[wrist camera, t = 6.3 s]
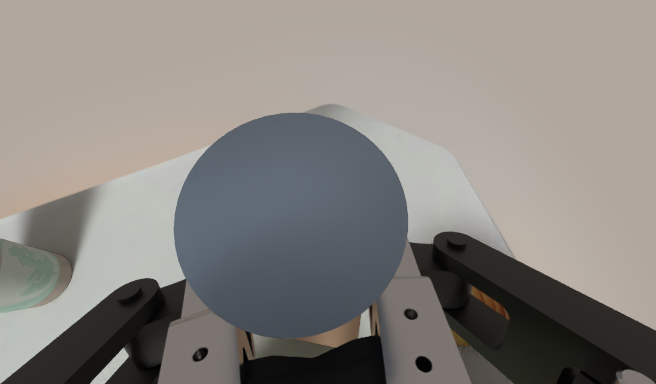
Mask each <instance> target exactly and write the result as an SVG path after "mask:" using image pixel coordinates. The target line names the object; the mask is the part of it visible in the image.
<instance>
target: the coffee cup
mask: <svg viewBox="0 0 656 384" xmlns="http://www.w3.org/2000/svg"><path fill="white" fill-rule="evenodd" d="M71 275H72V267H71V264H70V262H69V261H68V259H67V258H65V257H64V256H62V255H59V254H55V253H52V252H48V251H45V250H41V249H37V248H34V247H30V246H26V245H22V244H19V243H15V242H11V241H7V240H4V239H0V313H5V312H11V311H16V310H22V309H27V308H32V307H37V306H42V305H45V304H48V303H50V302H52V301H53V300H55V299H56V298H57V297H59V296H60V295H61V294H62V293H63V292H64V290H65V289H66V288H67V286H68V284H69V282H70V279H71Z"/></svg>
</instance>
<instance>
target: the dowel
mask: <svg viewBox="0 0 656 384" xmlns="http://www.w3.org/2000/svg"><path fill="white" fill-rule="evenodd" d="M407 233H408V212H407V204H406V199H405V195H404V191H403V188H402V185H401V183H400V180H399V178H398V176H397V174H396V172H395V170H394V168H393V166H392V165H391V163H390V162H389V160H388V159H387V158H386V156H385V155H384V154H383V153H382V151H381V150H380V149H379V148H378V147H377V146H376V145H375V144H374V143H373V142H372V141H370V140H369V139H368V138H367V137H366V136H364V135H363V134H361V133H360V132H358V131H357V130H355V129H354V128H352V127H350V126H348V125H346V124H344V123H342V122H339V121H337V120H334V119H331V118H328V117H324V116H320V115H314V114H307V113H284V114H276V115H270V116H265V117H262V118H259V119H255V120H252V121H250V122H247V123H245V124H243V125H240V126H239V127H237V128H235V129H233V130H232V131H230V132H228V133H227V134H225V135H224V136H223V137H221V138H220V139H218V140H217V141H216V142H215V143H214V144H213V145H212V146H210V147H209V148H208V149H207V150H206V151H205V153H204V154H203V155H202V156H201V157H200V158H199V159H198V161H197V162H196V164H195V165H194V167H193V168H192V170H191V171H190V172H189V174H188V176H187V178H186V180H185V182H184V184H183V187H182V190H181V192H180V195H179V198H178V202H177V207H176V211H175V220H174V238H175V247H176V252H177V256H178V261H179V263H180V266H181V268H182V271H183V274H184V276H185V278H186V279H187V281H188V283H189V285H190V286H191V288H192V290H193V291H194V292H195V294H196V295H197V296H198V297H199V299H200V300H201V301H202V302H203V303H204V304H205V305H206V306H207V307H208V308H209V309H210V310H211V311H212V312H213V313H215V314H216V315H217V316H219V317H220V318H222V319H223V320H225V321H226V322H228V323H229V324H231V325H233V326H236V327H238V328H240V329H242V330H244V331H247V332H250V333H254V334H257V335H261V336H266V337H273V338H302V337H308V336H314V335H318V334H321V333H324V332H328V331H331V330H334V329H336V328H338V327H340V326H342V325H344V324H346V323H348V322H350V321H351V320H353V319H354V318H356V317H357V316H359V315H360V314H362V313H363V312H364V311H365V310H366V309H367V308H369V307H370V306H371V305H372V304H373V303H374V302H375V301H376V300H377V299H378V298H379V297H380V295H381V294H382V293H383V292H384V291H385V289H386V288H387V287H388V285H389V283H390V282H391V280H392V278H393V277H394V275H395V273H396V271H397V269H398V267H399V264H400V262H401V260H402V256H403V253H404V249H405V246H406V240H407Z"/></svg>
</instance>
